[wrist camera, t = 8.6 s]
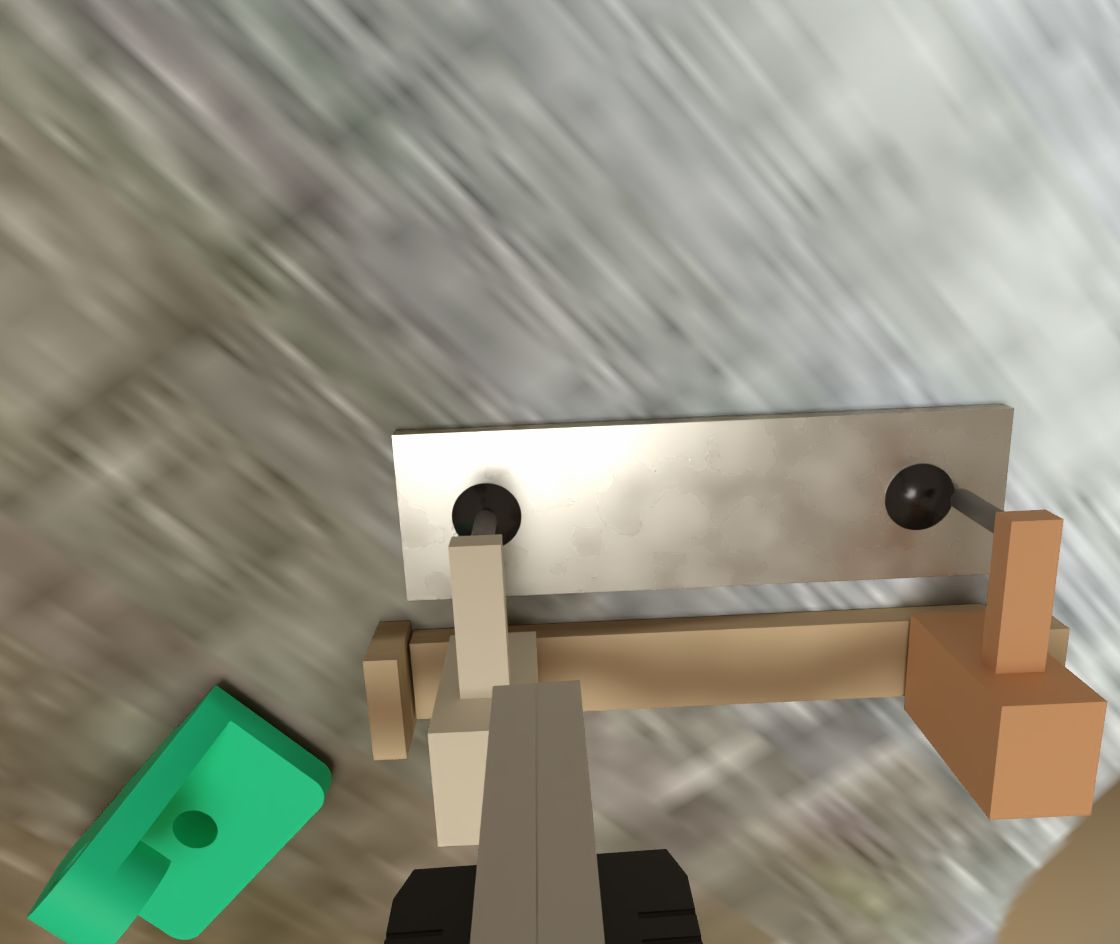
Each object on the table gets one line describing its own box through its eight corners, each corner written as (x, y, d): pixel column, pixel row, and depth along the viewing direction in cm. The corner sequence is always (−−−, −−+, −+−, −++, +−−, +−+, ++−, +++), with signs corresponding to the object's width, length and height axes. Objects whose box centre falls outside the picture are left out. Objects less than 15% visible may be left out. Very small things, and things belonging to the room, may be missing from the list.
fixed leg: (439, 501, 38) (412, 572, 30) (528, 497, 38) (525, 567, 30) (458, 727, 41) (438, 846, 33) (540, 723, 41) (540, 841, 33)
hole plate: (395, 430, 39) (391, 435, 38) (1002, 403, 39) (1014, 408, 38) (410, 592, 41) (407, 601, 40) (986, 565, 41) (997, 574, 40)
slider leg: (919, 480, 38) (1019, 544, 30) (1007, 476, 38) (1130, 539, 30) (902, 706, 42) (989, 819, 33) (983, 702, 42) (1090, 815, 33)
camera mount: (206, 907, 46) (114, 1092, 36) (86, 828, 44) (-44, 997, 35) (345, 762, 44) (287, 915, 34) (224, 673, 42) (126, 807, 32)
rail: (379, 622, 41) (362, 661, 38) (1020, 592, 42) (1069, 628, 38) (389, 713, 43) (374, 760, 39) (1010, 683, 43) (1056, 727, 39)
